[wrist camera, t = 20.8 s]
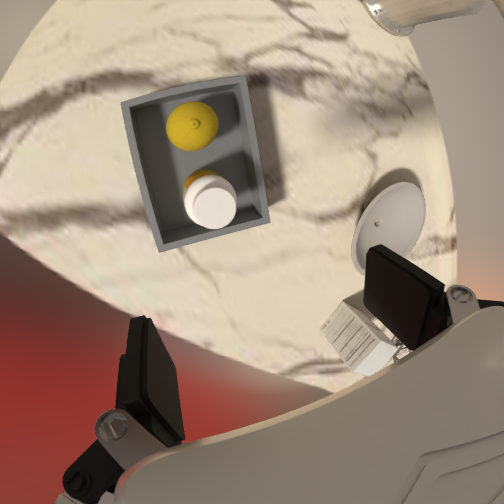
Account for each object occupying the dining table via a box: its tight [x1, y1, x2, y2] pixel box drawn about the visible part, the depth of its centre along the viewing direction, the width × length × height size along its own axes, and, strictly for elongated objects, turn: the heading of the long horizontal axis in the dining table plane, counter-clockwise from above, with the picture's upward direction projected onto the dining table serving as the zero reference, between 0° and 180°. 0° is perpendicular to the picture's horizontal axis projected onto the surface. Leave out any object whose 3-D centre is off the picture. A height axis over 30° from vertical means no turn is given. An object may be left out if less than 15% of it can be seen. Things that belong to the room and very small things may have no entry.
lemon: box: [166, 101, 219, 151], centre depth 26 cm, size 6×6×8 cm
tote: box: [121, 76, 270, 253], centre depth 30 cm, size 18×14×5 cm
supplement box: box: [320, 301, 398, 376], centre depth 45 cm, size 7×7×13 cm
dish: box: [351, 182, 426, 275], centre depth 41 cm, size 18×14×5 cm
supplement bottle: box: [182, 169, 237, 229], centre depth 29 cm, size 5×5×10 cm
